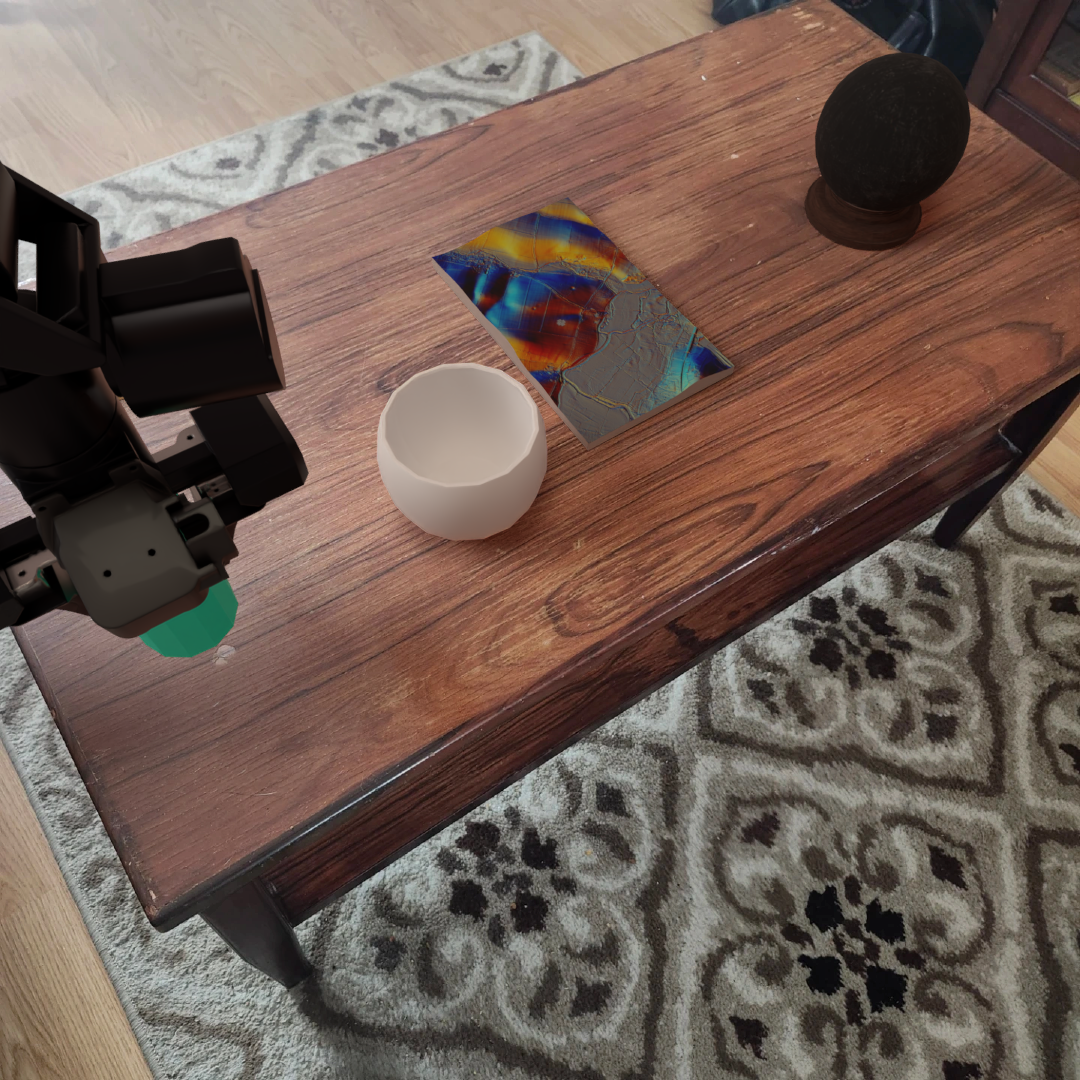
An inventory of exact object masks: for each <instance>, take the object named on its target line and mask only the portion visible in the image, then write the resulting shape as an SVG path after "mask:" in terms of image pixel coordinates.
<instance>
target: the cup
mask: <svg viewBox="0 0 1080 1080" xmlns="http://www.w3.org/2000/svg"><path fill="white" fill-rule="evenodd" d="M376 461H377V466H378V470H379V474H380V477H381V481H382V483H383V485H384V487H385V489H386V491H387V493H388V494H389V497H390V499H391V501H392V503H393V504H394V506H395V507H396V508H397V509H398V510H399V511H400V513H401V514H402V515H403V516H404V517H405V518H406V519H408V520H409V521H410V522H411V523H413V524H414V525H416V526H417V527H418V528H420V529H421V530H422V531H423V532H425V533H426V534H429V535H432V536H436V537H440V538H443V539H446V540H450V541H453V542H456V541H474V540H484V539H487V538H489V537H491V536H494V535H496V534H499V533H501V532H503V531H506V530H509V529H510V528H511V527H512V526H513V525H514V524H516V523H517V522H518V520H519V519H521V518H522V517H523V516H524V515H525V514H526V513H527V512H528V511H529V510H530V508H531V506H532V504H533V503H534V501H535V500H536V498H537V496H538V495H539V494H538V493H539V491H540V488H541V486H542V484H543V481H544V478H545V476H546V473H547V471H548V441H547V432H546V423H545V420H544V417H543V415H542V412H541V411H540V407H539V406H538V404H537V403H536V401H535V399H534V398H533V396H532V395H531V394H530V392H529V391H528V389H527V387H526V386H525V384H523V383H521V382H520V381H519V380H517V379H515V378H514V377H512V376H511V375H509V374H508V373H507V372H505V371H503V370H502V369H499V368H496V367H491V366H487V365H484V364H479V363H477V362H458V363H457V362H456V363H442V364H439V365H437V366H434V367H431V368H429V369H426V370H422V371H420V372H417V373H415V374H413V375H412V376H411V377H410V378H408V379H407V380H406V381H405V382H404V383H402V384H401V385H400V386H399V387H398V388H396V389H395V390H394V391H392V392H391V394H390V397H389V399H388V401H387V403H386V404H385V406H384V408H383V410H382V411H381V414H380V417H379V421H378V427H377V432H376Z"/></svg>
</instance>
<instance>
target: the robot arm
mask: <svg viewBox="0 0 1080 1080" xmlns="http://www.w3.org/2000/svg"><path fill="white" fill-rule="evenodd" d="M20 241H21V242H25V243H29V244H33V245H35V290H33V289H27V288H19V250H20V249H19V244H20ZM101 241H102V240H101V225H100V221H99V220H98V218H96V217H94V216H93V215H91V214H90V213H88V212H85V211H84V210H83V209H80V208H79V207H77V206H75V205H73V204H72V203H70V202H69V201H67V200H65V199H64V198H62V197H60V196H58V195H57V194H56V193H53V192H51V191H50V190H49V189H47V188H45V187H43V186H41V185H40V184H38V183H36V182H35V181H33V180H31V179H29V178H28V177H26V176H24V175H23V174H21V173H19V172H17V171H16V170H14V169H13V168H11V167H9V166H7V165H5V164H4V163H3V162H2V161H1V160H0V470H1V471H2V472H3V473H4V474H5V476H6V477H7V478H8V479H9V481H11V483H12V484H13V485H14V486H15V487H16V489H17V490H18V491H19V492H20V494H21V498H22V499H23V501H24V502H25V503H26V505H28V507H29V508H30V510H31V512H32V513H33V515H34V517H33V516H32V515H28V516H26V517H22V518H21V519H19V520H16V521H14V522H12V523H9V524H8V525H4V526H3V527H0V631H2V630H4V629H6V628H8V627H14V628H17V627H21V626H24V625H26V624H28V623H30V622H32V621H34V620H37V619H39V618H40V617H43V616H46V615H47V614H48V613H51V612H53V611H55V610H58V611H66V612H70V613H74V614H78V615H81V616H86V617H90V620H92V621H93V623H94V624H96V625H97V626H98V627H100V628H102V629H103V630H105V631H107V632H109V633H111V634H112V635H114V636H116V637H117V638H120V639H127V640H128V639H134V638H137V637H138V638H139V636H140V635H142V634H144V633H146V632H148V631H149V630H150V629H152V628H154V627H156V626H158V625H160V624H162V623H164V622H166V621H168V620H170V619H172V618H174V617H176V616H178V615H180V614H182V613H184V612H187V611H190V610H192V609H194V608H196V607H197V606H199V605H201V604H202V603H203V602H204V601H205V599H206V598H207V596H208V592H209V588H210V587H212V586H214V585H216V584H217V583H219V582H221V581H223V580H226V579H227V580H228V579H230V575H229V573H228V571H227V570H226V566H228V565H230V564H231V560H234V559H235V558H237V557H239V555H240V550H239V549H238V547H237V545H236V543H235V541H234V540H235V539H234V538H235V532H236V528H237V525H238V522H241V521H243V520H244V519H246V518H249V517H251V516H253V515H255V514H257V513H259V512H261V511H262V510H264V508H265V507H266V505H267V504H268V503H269V502H271V501H274V500H276V499H278V498H280V497H282V496H284V495H287V494H288V493H290V492H292V491H294V490H296V489H298V488H301V487H303V486H304V485H305V483H306V481H307V479H308V476H309V474H310V473H309V469H308V466H307V463H306V460H305V458H304V455H303V452H302V450H301V448H300V447H299V444H298V443H297V441H296V439H295V438H294V436H293V434H292V433H291V431H290V429H289V428H288V426H287V425H286V423H285V421H284V420H283V418H282V417H281V415H280V414H279V412H278V410H277V408H276V407H275V406H274V404H273V402H272V401H271V399H270V398H269V397H268V395H267V394H270V393H271V394H272V393H275V392H281V391H286V390H287V380H286V374H285V369H284V363H283V357H282V353H281V349H280V345H279V340H278V336H277V332H276V328H275V324H274V320H273V316H272V312H271V308H270V305H269V302H268V298H267V295H266V294H267V293H266V291H265V287H264V285H263V281H262V278H261V275H260V272H259V269H258V268H253V267H252V263H251V261H250V259H249V257H248V255H247V254H243V251H242V248H241V245H240V242H239V240H238V239H237V238H235V237H233V236H227V237H222V238H221V237H220V238H217V239H209V240H205V241H201V242H199V243H196V244H194V245H191V246H188V247H186V248H181V249H178V250H172V251H165V252H160V253H155V254H149V255H143V256H137V257H136V256H135V257H131V258H125V259H120V260H119V259H118V260H113V261H108V259H107V257H106V255H105V253H104V251H103V250H102V242H101ZM118 397H123V398H124V399H123V400H124V401H125V404H126V405H127V406H128V408H129V410H130V411H131V412H132V413H133V414H134V415H135V416H136V418H138V419H145V418H149V417H155V416H162V415H166V414H171V413H176V412H181V411H186V410H189V411H187V412H188V414H189V415H190V417H191V420H192V422H193V425H190V426H188V427H185V428H184V429H182V430H181V431H180V432H178V434H177V436H176V442H175V443H174V444H172V445H169V446H167V447H165V448H162V449H160V450H158V451H156V452H154V453H151V451H150V450H149V448H148V446H147V444H146V443H145V441H144V439H143V438H142V436H141V434H140V432H139V431H138V429H137V427H136V426H135V424H134V423H133V421H132V419H131V417H130V416H129V414H128V411H127V410H126V408H125V407H124V405H123V403H122V402H121V400H119V398H118ZM188 489H189V491H190V494H191V498H192V500H193V501H190V500H188V498H187V495H186V494H185V492H184V491H187V490H188ZM176 494H178V496H177V495H176ZM182 533H183V534H182ZM183 535H184V536H183ZM184 537H185V538H184Z"/></svg>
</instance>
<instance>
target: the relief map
mask: <svg viewBox="0 0 1080 1080" xmlns="http://www.w3.org/2000/svg"><path fill="white" fill-rule="evenodd" d="M431 264H432V268H433V270H434V271H435V272H436V273H437V275H439V277H440V278H441V279H442V280H443V281H444V283H445V284H446V285H447V286H448V288H449V289H450V290H451V291H452V292H453V294H454V295H455V296H456V297H457V298H458V299H459V301H461V303H462V304H463V305H464V306H465V308H467V310H468V311H469V312H470V313H471V314H472V316H473V317H474V318H475V319H476V320H477V321H478V323H479V324H480V325H481V326H482V328H483V329H484V330H485V331H486V332H487V334H489V336H490V337H491V338H492V339H493V340H494V342H495V343H496V344H497V345H498V346H499V347H500V349H501V350H502V351H503V352H504V353H505V355H506V356H507V357H508V358H509V359H510V360H511V362H512V363H513V364H514V365H515V367H516V368H517V369H518V370H519V371H520V373H521V374H522V375H523V376H524V377H525V378H526V380H527V381H528V382H529V383H530V384H531V385H532V387H533V388H534V389H535V390H536V391H537V392H538V393H539V395H540V396H541V397H542V398H543V400H544V401H545V402H546V403H547V404H548V405H549V407H550V408H551V409H552V410H553V412H555V414H556V415H557V416H558V417H559V418H560V419H561V421H562V422H563V423H564V424H565V425H566V427H567V428H568V429H569V430H570V432H571V433H572V434H573V435H574V436H575V437H576V439H577V440H578V441H579V442H580V443H581V445H583V447H584V448H585V449H586V450H587V451H590V450H593V449H594V448H596V447H598V446H600V445H601V444H603V443H605V442H607V441H609V440H611V439H613V438H615V437H617V436H618V435H620V434H622V433H624V432H625V431H627V430H629V429H631V428H634V427H635V426H637V425H639V424H641V423H643V422H644V421H646V420H648V419H650V418H652V417H654V416H656V415H657V414H659V413H661V412H663V411H665V410H667V409H669V408H671V407H672V406H675V405H676V404H678V403H680V402H682V401H684V400H685V399H688V398H690V397H691V396H693V395H695V394H697V393H699V392H701V391H703V390H705V389H706V388H708V387H710V386H712V385H714V384H715V383H717V382H720V381H721V380H723V379H726V378H727V377H729V376H732V375H733V374H734V370H735V366H736V365H734V364H733V362H732V361H731V360H730V359H729V358H728V357H726V356H725V354H723V353H722V352H721V350H719V349H718V348H717V346H715V345H714V344H713V343H712V342H711V341H710V340H709V339H708V338H707V337H706V336H705V335H704V334H703V333H702V331H700V330H699V328H698V327H697V326H695V325H694V324H693V323H692V322H691V321H690V320H689V319H688V318H687V317H686V316H685V315H684V314H683V313H681V311H679V309H678V308H676V307H675V306H674V305H673V304H672V303H671V302H670V300H668V299H667V298H666V297H665V295H664V294H662V293H661V291H660V290H658V289H657V287H655V286H654V285H653V284H652V283H651V281H649V279H647V278H646V275H644V273H643V272H642V271H641V270H640V269H639V268H637V266H635V264H633V262H632V261H630V260H629V258H628V257H627V256H626V255H625V253H624V252H622V250H621V248H620V247H618V246H617V244H615V242H614V241H613V240H612V239H611V238H609V237H608V235H606V234H605V233H604V232H603V231H601V230H600V229H599V228H597V226H596V225H595V224H594V223H593V221H592V220H591V219H590V217H589V216H588V215H587V214H586V213H585V212H583V210H582V209H581V208H580V207H579V206H578V205H577V204H576V203H575V202H574V201H573V200H572V199H571V198H570V196H569V197H568V196H566V197H564V198H562V199H560V200H558V201H555V202H553V203H550V204H549V205H546V206H544V207H542V208H540V209H539V210H536V211H533V212H530V213H526V214H524V215H521V216H518V217H516V218H513V219H511V220H508V221H505V222H503V223H501V224H498V225H496V226H494V227H492V228H490V229H488V230H486V231H485V232H483V233H481V234H480V235H478V236H477V237H475V238H474V239H471V240H470V241H468V242H466V243H463V244H462V245H460V246H458V247H456V248H454V249H450V251H447V252H444V253H441V254H438V255H434V256H431Z"/></svg>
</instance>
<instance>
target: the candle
mask: <svg viewBox="0 0 1080 1080" xmlns="http://www.w3.org/2000/svg"><path fill="white" fill-rule="evenodd" d="M176 495H177V496H178V495H179V493H178V494H176ZM182 534H183V533H182ZM183 536H184V535H183ZM184 538H185V537H184ZM238 607H239V601H238V599H237V597H236V595H235V592H234V590H233V588H232V585H231V583H230V581H229V580H228V579H226V580H223V581H221V582H219V583H217V584H216V585H214V586H212V587H210V588H209V592H208V596H207V598H206V599H205V601H204V602H203V603H202V604H201V605H199V606H197V607H196V608H194V609H192V610H190V611H187V612H184V613H182V614H180V615H178V616H176V617H174V618H172V619H170V620H168V621H166V622H164V623H162V624H160V625H158V626H156V627H154V628H152V629H150V630H149V631H148V632H146V633H144V634H142V635H140V636H138V638H140V640H141V641H142V642H143V643H144V644H145V646H147V647H149V648H150V649H152V650H153V651H155V652H157V653H158V654H159V655H161V656H163V657H164V658H193V657H196V656H198V655H201V654H202V653H205V652H207V651H209V650H211V649H213V648H216V647H217V646H218V645H219V644H220V643H221V642H222V641H223V639H224V638H225V637H226V636H227V635H228V634H229V633H230V631H232V629H233V628H234V626H235V622H236V617H237V612H238Z"/></svg>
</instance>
